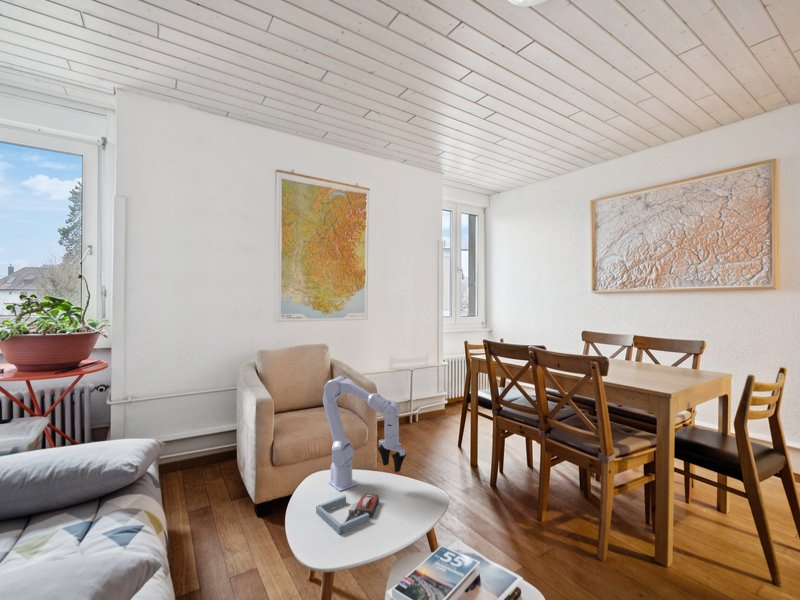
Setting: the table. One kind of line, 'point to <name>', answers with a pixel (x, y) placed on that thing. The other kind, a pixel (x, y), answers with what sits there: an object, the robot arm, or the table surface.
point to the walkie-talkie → (364, 506)
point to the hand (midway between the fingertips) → (391, 468)
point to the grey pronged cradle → (333, 523)
